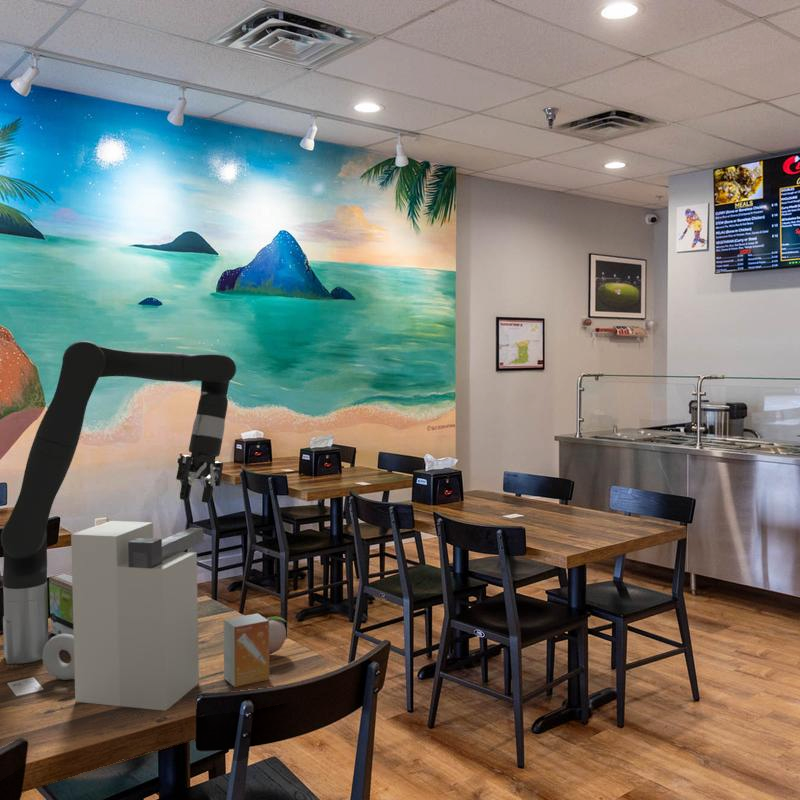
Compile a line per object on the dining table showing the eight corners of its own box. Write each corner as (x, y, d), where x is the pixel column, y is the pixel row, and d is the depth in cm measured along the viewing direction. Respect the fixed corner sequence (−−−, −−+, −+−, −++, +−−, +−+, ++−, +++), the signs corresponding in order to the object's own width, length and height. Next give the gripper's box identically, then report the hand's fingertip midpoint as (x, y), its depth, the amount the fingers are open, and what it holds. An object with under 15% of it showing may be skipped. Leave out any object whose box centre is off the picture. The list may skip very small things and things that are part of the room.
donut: (39, 681, 176) (38, 635, 175) (48, 675, 179) (47, 630, 179) (83, 683, 175) (82, 637, 174) (91, 677, 178) (90, 632, 177)
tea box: (49, 634, 206) (47, 575, 206) (86, 624, 214) (85, 568, 213) (79, 647, 197) (77, 586, 196) (117, 636, 204) (116, 577, 204)
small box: (234, 688, 172) (233, 626, 171) (223, 678, 177) (222, 619, 176) (270, 679, 176) (269, 619, 175) (258, 670, 181) (257, 612, 181)
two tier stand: (114, 675, 179) (111, 520, 177) (199, 683, 174) (196, 524, 173) (75, 701, 165) (71, 534, 164) (165, 710, 161) (162, 538, 159)
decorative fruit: (253, 666, 184) (253, 622, 183) (242, 654, 191) (241, 612, 191) (293, 658, 188) (292, 615, 188) (280, 647, 196) (280, 606, 195)
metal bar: (186, 540, 185) (186, 518, 184) (207, 541, 183) (207, 519, 183) (128, 567, 161) (128, 542, 161) (151, 568, 160) (151, 543, 160)
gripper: (212, 438, 209) (200, 501, 207) (176, 429, 197) (163, 496, 194) (236, 441, 206) (224, 505, 204) (202, 432, 193) (189, 500, 191)
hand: (195, 501), depth 199 cm, fingers open, 8 cm apart
